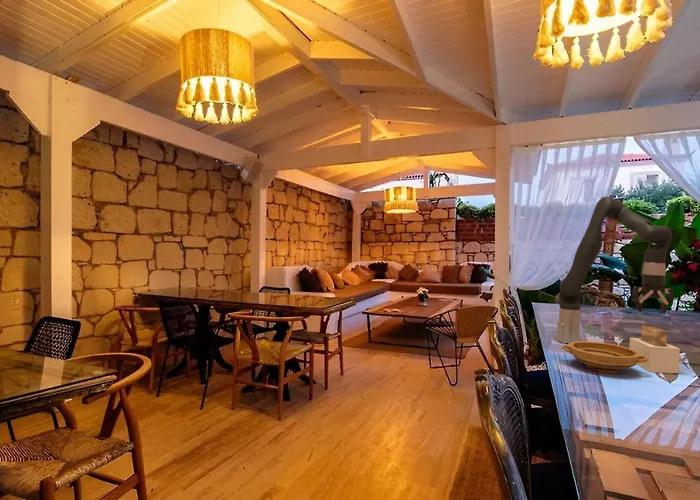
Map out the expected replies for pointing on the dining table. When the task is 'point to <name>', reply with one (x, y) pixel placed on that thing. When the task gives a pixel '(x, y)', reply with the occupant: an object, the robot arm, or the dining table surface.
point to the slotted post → (657, 356)
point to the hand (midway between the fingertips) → (651, 312)
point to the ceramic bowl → (604, 355)
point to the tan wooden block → (654, 336)
